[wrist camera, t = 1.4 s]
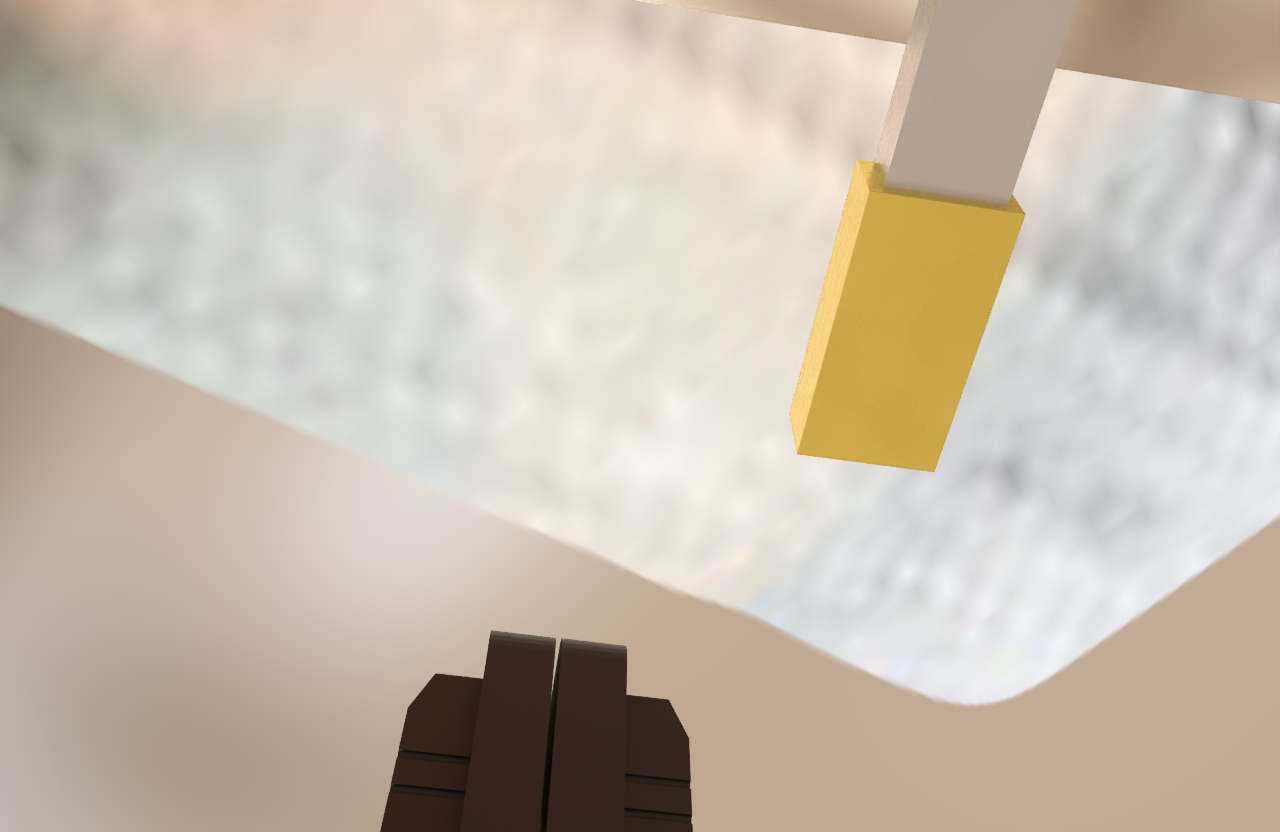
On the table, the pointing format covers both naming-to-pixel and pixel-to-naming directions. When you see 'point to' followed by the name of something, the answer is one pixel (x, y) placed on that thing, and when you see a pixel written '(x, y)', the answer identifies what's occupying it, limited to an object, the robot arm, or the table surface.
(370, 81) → the table surface
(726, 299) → the table surface
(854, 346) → the valve lever
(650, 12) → the table surface
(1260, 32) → the pipe board
